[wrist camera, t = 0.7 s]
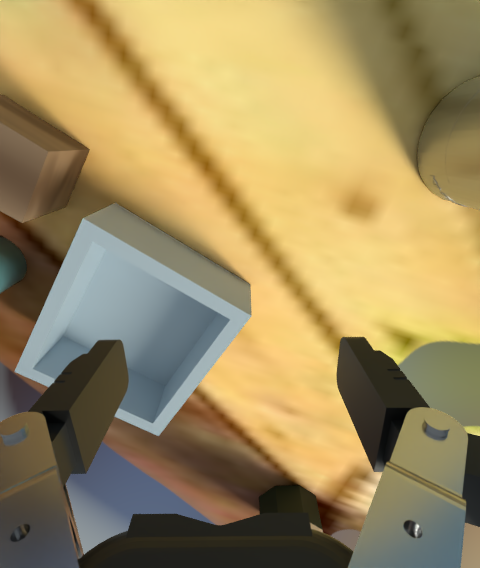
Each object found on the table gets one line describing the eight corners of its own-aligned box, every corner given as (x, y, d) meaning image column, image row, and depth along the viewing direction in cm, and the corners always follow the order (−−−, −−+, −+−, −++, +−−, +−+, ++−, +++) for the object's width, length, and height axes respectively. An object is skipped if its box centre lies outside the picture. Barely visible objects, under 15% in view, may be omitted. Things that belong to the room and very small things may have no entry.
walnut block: (4, 95, 24) (-67, 81, 19) (90, 149, 26) (48, 151, 20) (-15, 159, 26) (-84, 164, 21) (66, 206, 28) (22, 222, 22)
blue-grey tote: (115, 202, 27) (82, 218, 22) (250, 284, 30) (251, 315, 25) (52, 333, 33) (14, 371, 27) (171, 391, 36) (158, 436, 30)
